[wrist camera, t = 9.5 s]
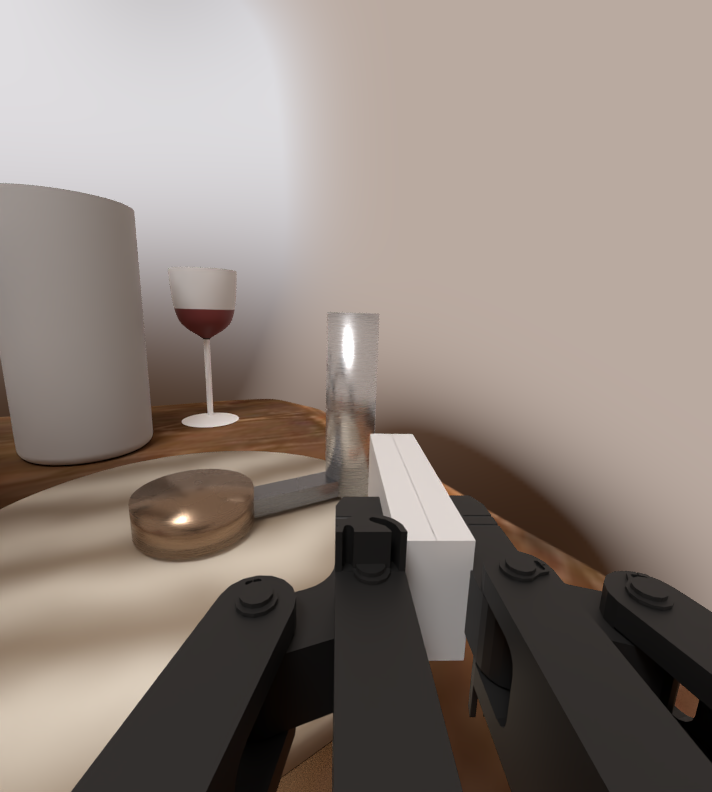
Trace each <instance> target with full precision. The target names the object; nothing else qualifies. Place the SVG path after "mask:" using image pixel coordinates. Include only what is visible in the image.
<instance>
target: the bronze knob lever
mask: <svg viewBox="0 0 712 792" xmlns="http://www.w3.org/2000/svg"><path fill="white" fill-rule="evenodd" d="M378 331H379V314H371V313H338V312H334V313H333V312H328V313H327V381H326V386H327V387H326V467H325V472H320V473H316V474H311V475H306V476H302V477H297V478H292V479H288V480H283V481H278V482H273V483H269V484H264V485H259V486H255V487H254V485H253V482H252V480H251V479H250V478H249V477H247V476H246V475H244V474H242V473H239V472H235V471H231V470H225V469H197V470H189V471H183V472H178V473H174V474H170V475H166V476H163V477H160V478H158V479H155V480H153V481H150V482H149V483H147V484H145V485H143V486H142V487H140V488H139V489H137V490H136V491H135V492H134V493H133V494H132V495H131V497H130V499H129V502H128V506H129V516H130V525H131V535H132V542H133V544H134V546H135V547H136V548H137V549H138V550H139V551H140V552H142V553H144V554H146V555H149V556H152V557H157V558H164V559H184V558H192V557H198V556H203V555H207V554H210V553H213V552H216V551H219V550H222V549H224V548H226V547H228V546H230V545H232V544H234V543H236V542H237V541H239V540H240V539H242V538H243V537H244V536H245V535H246V534H247V533H248V532H249V531H250V530H251V528H252V526H253V525H254V521H255V518H257V517H261V516H264V515H268V514H272V513H276V512H280V511H284V510H288V509H292V508H296V507H300V506H304V505H308V504H312V503H315V502H319V501H323V500H327V499H331V498H335V497H362V496H365V495H367V494H368V478H369V450H370V434H375V409H376V384H377V357H378V333H379V332H378Z"/></svg>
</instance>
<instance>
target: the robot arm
mask: <svg viewBox="0 0 712 792" xmlns="http://www.w3.org/2000/svg"><path fill="white" fill-rule="evenodd" d="M466 638H467V640H468V643H469V645H470V648H471V651H472V653H473V666H472V675H471V684H470V694H469V703H468V707H469V715H470V717H476V708H477V699H479V702H480V705H481V708H482V710H483V716H484V717H485V719H486V722H487V724H488V727H489V730H490V733H491V736H492V739H493V741H494V744H495V747H496V750H497V753H498V755H499V758H500V761H501V764H502V767H503V769H504V772H505V775H506V778H507V781H508V783H509V786H510V789H511V792H712V612H711V611H709V610H708V609H706V608H705V607H703V606H702V605H700V604H698V603H697V602H695V601H694V600H692V599H691V598H689V597H688V596H686V595H685V594H683V593H681V592H680V591H678V590H677V589H675V588H673V587H671V586H670V585H668V584H666V583H664V582H662V581H660V580H658V579H655V578H652V577H650V576H648V575H646V574H642V573H636V572H630V571H617V572H616V571H615V572H612V573H610V574H608V575H606V577H605V580H604V584H603V590H602V591H597V590H592V589H587V588H582V587H577V586H572V585H568V584H565V583H564V582H563V581H562V580H561V579H560V578H559V576H558V575H557V574H556V573H555V571H554V570H553V569H552V568H550V567H549V566H548V565H547V564H546V563H545V562H543V561H542V560H540V559H538V558H536V557H534V556H532V555H529V554H526V553H523V552H519V551H517V549H516V548H515V547H514V545H513V544H512V543H511V541H510V540H509V539H508V537H507V536H506V535H505V533H504V532H503V531H502V529H501V528H500V526H498V525H497V522H496V521H495V520H494V518H493V517H491V514H490V513H489V512H488V510H487V509H486V508H485V506H484V505H483V504H482V503H480V502H479V501H477V500H475V499H474V498H472V497H471V496H449V495H448V493H447V492H446V490H445V488H444V486H443V485H442V483H441V481H440V480H439V478H438V476H437V475H436V473H435V471H434V470H433V468H432V466H431V465H430V463H429V461H428V459H427V458H426V456H425V454H424V453H423V451H422V450H421V448H420V446H419V444H418V443H417V441H416V439H415V438H414V436H413V435H412V434H370V450H369V478H368V497H343V498H342V499H341V500H340V501H339V502H338V503H337V505H336V516H335V565H334V569H333V571H332V573H331V574H330V576H329V577H327V578H326V579H325V580H324V581H323V582H321V583H319V584H318V585H316V586H313V587H310V588H307V589H304V590H300V591H296V592H294V589H293V587H292V586H291V585H290V584H289V583H288V582H286V581H285V580H284V579H281V578H278V577H275V576H262V575H258V576H253V577H249V578H244V579H242V580H240V581H238V582H236V583H234V584H232V585H230V586H229V587H228V588H227V589H226V590H225V591H224V592H223V593H221V594H220V596H219V597H218V598H217V600H216V601H215V602H214V604H213V605H212V606H211V607H210V609H209V610H208V611H207V613H206V614H205V615H204V617H203V618H202V619H201V621H200V622H199V623H198V625H197V626H196V627H195V629H194V630H193V631H192V633H191V634H190V635H189V637H188V638H187V639H186V640H185V642H184V643H183V644H182V646H181V647H180V648H179V650H178V651H177V652H176V654H175V655H174V656H173V658H172V659H171V660H170V662H169V663H168V664H167V666H166V667H165V668H164V669H163V671H162V672H161V673H160V675H159V676H158V677H157V679H156V680H155V681H154V683H153V684H152V685H151V687H150V688H149V689H148V691H147V692H146V693H145V695H144V696H143V697H142V698H141V700H140V701H139V702H138V704H137V705H136V706H135V708H134V709H133V710H132V712H131V713H130V714H129V716H128V717H127V718H126V720H125V721H124V722H123V724H122V725H121V726H120V727H119V729H118V730H117V731H116V733H115V734H114V735H113V737H112V738H111V739H110V741H109V742H108V743H107V745H106V746H105V747H104V749H103V750H102V751H101V753H100V754H99V755H98V757H97V758H96V759H95V760H94V762H93V763H92V764H91V766H90V767H89V768H88V770H87V771H86V772H85V774H84V775H83V776H82V778H81V779H80V780H79V782H78V783H77V784H76V786H75V787H74V788H73V789H72V791H71V792H276V791H277V788H278V785H279V782H280V779H281V776H282V773H283V770H284V767H285V764H286V761H287V758H288V755H289V752H290V749H291V746H292V743H293V740H294V737H295V732H296V727H298V726H300V725H303V724H306V723H308V722H311V721H313V720H316V719H319V718H321V717H324V716H327V715H329V714H332V713H333V756H332V792H463V791H462V787H461V783H460V779H459V776H458V772H457V768H456V764H455V760H454V756H453V753H452V749H451V745H450V741H449V737H448V733H447V730H446V726H445V722H444V718H443V714H442V710H441V707H440V703H439V699H438V695H437V691H436V687H435V683H434V680H433V676H432V672H431V668H430V664H429V661H450V660H464V652H465V642H466ZM680 683H681V684H682V685H683V686H684V687H685V688H686V689H688V690H689V691H690V692H691V693H692V694H693V695H695V696H696V697H697V698H698V699H699V703H698V707H697V711H696V715H695V717H694V718H692V717H689V716H687V715H685V714H684V713H683V712H681V711H680V710H679V709H678V708H676V707H675V706H674V705H675V701H676V697H677V693H678V689H679V685H680Z"/></svg>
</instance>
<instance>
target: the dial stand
mask: <svg viewBox="0 0 712 792" xmlns="http://www.w3.org/2000/svg"><path fill="white" fill-rule="evenodd" d="M325 467H326V461H325V460H321V459H317V458H312V457H307V456H301V455H294V454H286V453H276V452H260V451H224V452H207V453H197V454H186V455H179V456H172V457H165V458H159V459H154V460H148V461H143V462H138V463H134V464H129V465H124V466H120V467H116V468H112V469H109V470H105V471H101V472H97V473H94V474H90V475H87V476H84V477H81V478H78V479H74V480H71V481H68V482H65V483H63V484H60V485H57V486H54V487H51V488H49V489H46V490H43V491H41V492H38V493H36V494H34V495H31V496H29V497H26V498H24V499H22V500H19V501H17V502H15V503H13V504H10V505H8V506H6V507H4V508H2V509H0V792H71V791H72V789H73V788H74V787H75V786H76V784H77V783H78V782H79V780H80V779H81V778H82V776H83V775H84V774H85V772H86V771H87V770H88V768H89V767H90V766H91V764H92V763H93V762H94V760H95V759H96V758H97V757H98V755H99V754H100V753H101V751H102V750H103V749H104V747H105V746H106V745H107V743H108V742H109V741H110V739H111V738H112V737H113V735H114V734H115V733H116V731H117V730H118V729H119V727H120V726H121V725H122V724H123V722H124V721H125V720H126V718H127V717H128V716H129V714H130V713H131V712H132V710H133V709H134V708H135V706H136V705H137V704H138V702H139V701H140V700H141V698H142V697H143V696H144V695H145V693H146V692H147V691H148V689H149V688H150V687H151V685H152V684H153V683H154V681H155V680H156V679H157V677H158V676H159V675H160V673H161V672H162V671H163V669H164V668H165V667H166V666H167V664H168V663H169V662H170V660H171V659H172V658H173V656H174V655H175V654H176V652H177V651H178V650H179V648H180V647H181V646H182V644H183V643H184V642H185V640H186V639H187V638H188V637H189V635H190V634H191V633H192V631H193V630H194V629H195V627H196V626H197V625H198V623H199V622H200V621H201V619H202V618H203V617H204V615H205V614H206V613H207V611H208V610H209V609H210V607H211V606H212V605H213V604H214V602H215V601H216V600H217V598H218V597H219V596H220V594H221V593H223V592H224V591H225V590H226V589H227V588H228V587H229V586H230V585H232V584H234V583H236V582H238V581H240V580H242V579H244V578H249V577H253V576H258V575H262V576H275V577H278V578H281V579H284V580H285V581H286V582H288V583H289V584H290V585H291V586H292V587H293V589H294V592H296V591H300V590H304V589H307V588H310V587H313V586H316V585H318V584H319V583H321V582H323V581H324V580H325V579H326V578H327V577H329V576H330V574H331V573H332V571H333V569H334V565H335V516H336V505H337V503H338V502H339V501H340V500H341V499H342V498H343V497H335V498H331V499H327V500H323V501H319V502H315V503H312V504H308V505H304V506H300V507H296V508H292V509H288V510H284V511H280V512H276V513H272V514H268V515H264V516H261V517H257V518H255V521H254V525H253V526H252V528H251V530H250V531H249V532H248V533H247V534H246V535H245V536H244V537H243V538H242V539H240V540H239V541H237V542H236V543H234V544H232V545H230V546H228V547H226V548H224V549H222V550H219V551H216V552H213V553H210V554H207V555H203V556H198V557H192V558H184V559H164V558H157V557H152V556H149V555H146V554H144V553H142V552H140V551H139V550H138V549H137V548H136V547H135V546H134V544H133V542H132V535H131V525H130V516H129V506H128V502H129V499H130V497H131V495H132V494H133V493H134V492H135V491H136V490H137V489H139V488H140V487H142V486H143V485H145V484H147V483H149V482H150V481H153V480H155V479H158V478H160V477H163V476H166V475H170V474H174V473H178V472H183V471H189V470H197V469H225V470H231V471H235V472H239V473H242V474H244V475H246V476H247V477H249V478H250V479H251V480H252V482H253V485H254V487H255V486H259V485H264V484H269V483H273V482H278V481H283V480H288V479H292V478H297V477H302V476H306V475H311V474H316V473H320V472H325ZM362 497H368V494H367V495H365V496H362ZM332 740H333V713H332V714H329V715H327V716H324V717H321V718H319V719H316V720H313V721H311V722H308V723H306V724H303V725H300V726H298V727H296V732H295V737H294V740H293V743H292V746H291V749H290V752H289V755H288V758H287V761H286V764H285V767H284V770H283V773H282V776H284V775H285V774H287V773H288V772H289V771H291V770H292V769H294V768H295V767H296V766H298V765H299V764H301V763H302V762H303V761H305V760H306V759H307V758H309V757H310V756H312V755H313V754H314V753H316V752H317V751H319V750H320V749H321V748H323V747H324V746H325V745H327V744H328V743H330V742H331V741H332ZM282 776H281V777H282Z"/></svg>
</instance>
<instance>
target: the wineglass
mask: <svg viewBox="0 0 712 792" xmlns="http://www.w3.org/2000/svg"><path fill="white" fill-rule="evenodd" d="M168 274H169V281H170V289H171V295H172V301H173V305H174V309H175V312H176V315H177V317H178V319H179V321H180V322H181V323H182V324H183V325H184V326H185V327H186V328H187V329H189V330H190V331H192V332H193V333H195V334H197V335H199V336H200V337H202V338H203V339H204V356H205V374H206V390H207V391H206V392H207V411H208V413H203V414H197V415H193V416H189V417H187V418H185V419H183V420H182V421H181V422H182V424H184V425H186V426H191V427H217V426H223V425H228V424H231V423H234V422H236V421H237V420H238V419H239V417H238V416H237V415H234V414H229V413H213V396H212V376H211V358H210V338H211V337H213V336H214V335H216V334H218V333H219V332H221V331H223V330H224V329H225V328H226V327H227V326H228V325H229V324H230V323H231V321H232V318H233V314H234V308H235V300H236V271H233V270H226V269H217V268H201V267H172V268H168Z"/></svg>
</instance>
